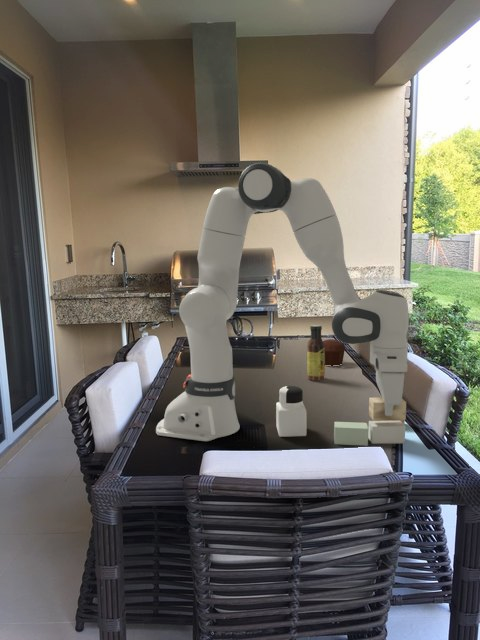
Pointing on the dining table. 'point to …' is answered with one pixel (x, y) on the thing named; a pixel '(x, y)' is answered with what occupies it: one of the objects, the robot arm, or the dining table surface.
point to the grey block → (386, 432)
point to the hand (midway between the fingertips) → (386, 411)
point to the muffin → (333, 352)
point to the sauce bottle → (316, 355)
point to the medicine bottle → (291, 412)
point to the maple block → (378, 410)
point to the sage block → (351, 433)
